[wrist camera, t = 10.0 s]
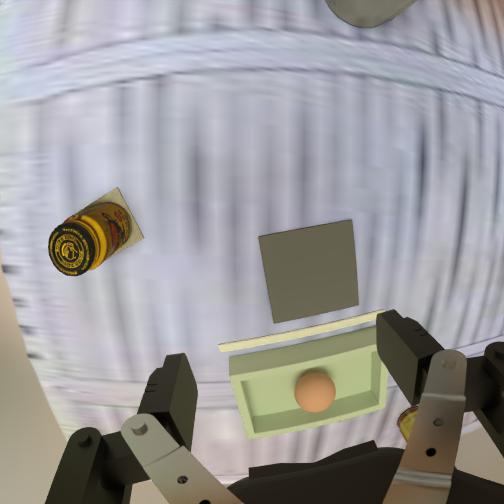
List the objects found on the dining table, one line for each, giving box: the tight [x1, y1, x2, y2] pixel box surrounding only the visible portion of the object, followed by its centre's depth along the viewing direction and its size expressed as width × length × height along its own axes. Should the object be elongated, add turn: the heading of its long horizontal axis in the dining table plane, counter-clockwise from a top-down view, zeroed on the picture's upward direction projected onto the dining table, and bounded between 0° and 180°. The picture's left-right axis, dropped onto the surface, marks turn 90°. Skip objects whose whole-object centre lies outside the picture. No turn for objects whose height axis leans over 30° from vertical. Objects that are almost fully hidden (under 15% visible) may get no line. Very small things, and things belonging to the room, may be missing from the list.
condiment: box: [48, 188, 144, 276], centre depth 33 cm, size 7×8×12 cm
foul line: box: [219, 309, 384, 352], centre depth 44 cm, size 24×1×1 cm, turn 100°
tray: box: [229, 325, 388, 439], centre depth 44 cm, size 22×13×4 cm, turn 100°
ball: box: [294, 373, 336, 413], centre depth 43 cm, size 6×6×6 cm
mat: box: [259, 220, 359, 324], centre depth 41 cm, size 12×12×1 cm
